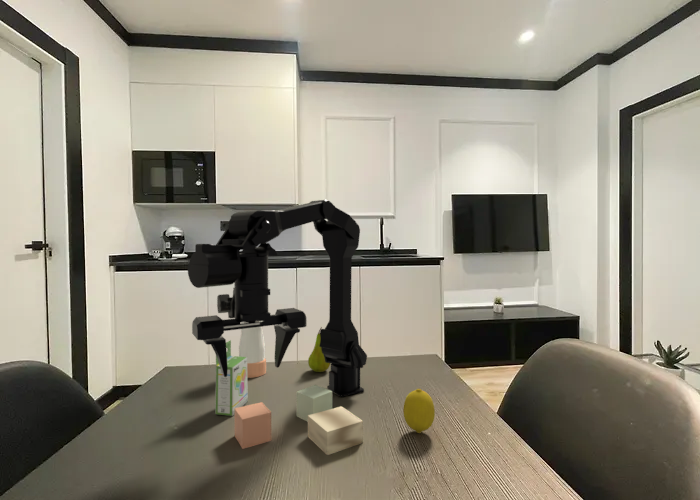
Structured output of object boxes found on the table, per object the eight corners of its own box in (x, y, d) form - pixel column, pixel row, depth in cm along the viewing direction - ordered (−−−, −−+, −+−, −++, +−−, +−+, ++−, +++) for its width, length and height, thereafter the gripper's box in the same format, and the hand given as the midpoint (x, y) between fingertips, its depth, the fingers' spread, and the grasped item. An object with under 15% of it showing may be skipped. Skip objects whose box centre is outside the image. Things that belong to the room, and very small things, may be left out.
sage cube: (315, 408, 78) (315, 384, 78) (332, 416, 74) (332, 391, 74) (296, 416, 74) (296, 391, 74) (313, 425, 71) (313, 398, 71)
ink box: (233, 416, 74) (233, 349, 74) (214, 415, 74) (214, 348, 74) (248, 402, 81) (248, 340, 81) (230, 401, 81) (230, 339, 81)
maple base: (341, 427, 70) (341, 406, 70) (362, 444, 64) (362, 420, 64) (307, 437, 66) (307, 415, 66) (327, 456, 60) (327, 431, 60)
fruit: (315, 366, 105) (315, 323, 105) (335, 369, 102) (335, 325, 102) (303, 373, 99) (303, 328, 99) (324, 376, 96) (324, 330, 96)
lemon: (416, 444, 64) (416, 397, 64) (397, 429, 69) (397, 386, 69) (441, 436, 66) (441, 391, 66) (421, 423, 71) (421, 381, 71)
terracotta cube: (262, 429, 69) (261, 402, 69) (271, 441, 65) (271, 412, 65) (234, 436, 66) (234, 408, 66) (242, 449, 62) (242, 419, 62)
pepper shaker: (238, 369, 102) (238, 299, 101) (265, 367, 103) (265, 298, 103) (236, 379, 95) (236, 303, 94) (266, 376, 96) (266, 302, 96)
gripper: (284, 276, 77) (285, 352, 77) (186, 281, 68) (187, 367, 68) (307, 281, 68) (307, 367, 68) (197, 287, 58) (198, 387, 58)
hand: (252, 371), depth 66 cm, fingers open, 9 cm apart
